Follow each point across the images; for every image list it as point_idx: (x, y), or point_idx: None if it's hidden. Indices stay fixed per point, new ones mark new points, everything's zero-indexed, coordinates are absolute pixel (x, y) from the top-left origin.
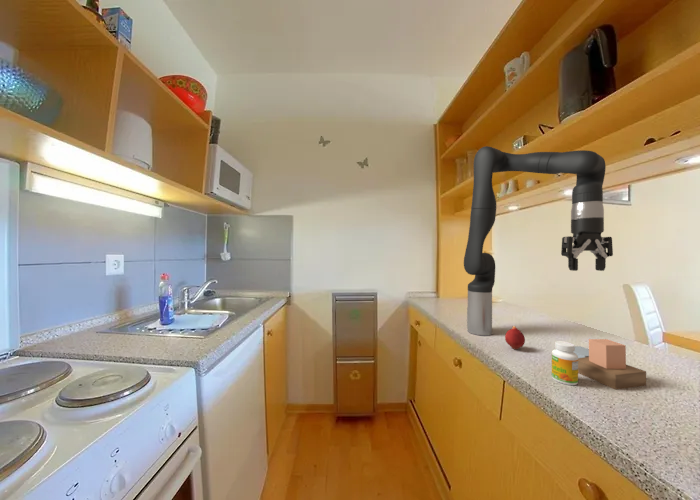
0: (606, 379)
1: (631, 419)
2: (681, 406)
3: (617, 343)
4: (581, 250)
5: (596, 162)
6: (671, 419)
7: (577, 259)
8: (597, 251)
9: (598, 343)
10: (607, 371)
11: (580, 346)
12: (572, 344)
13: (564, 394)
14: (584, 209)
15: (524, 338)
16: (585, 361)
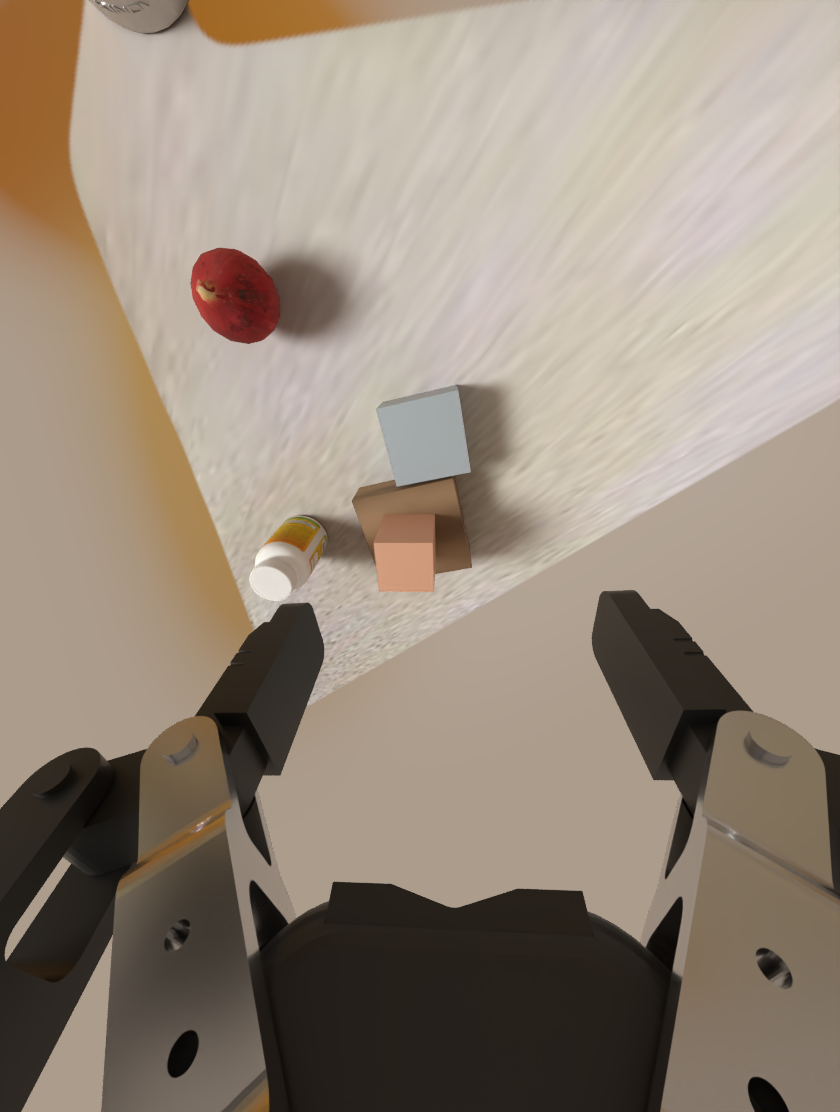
0: None
1: (333, 637)
2: (449, 611)
3: (427, 577)
4: (265, 942)
5: None
6: (392, 637)
7: (278, 763)
8: (657, 915)
9: (377, 570)
10: None
11: (456, 393)
12: (288, 589)
13: None
14: None
15: (265, 330)
16: (371, 518)
